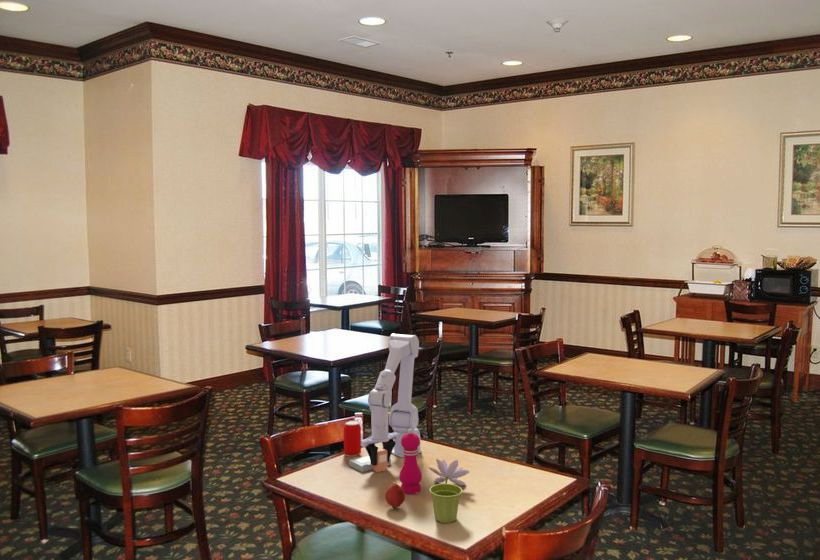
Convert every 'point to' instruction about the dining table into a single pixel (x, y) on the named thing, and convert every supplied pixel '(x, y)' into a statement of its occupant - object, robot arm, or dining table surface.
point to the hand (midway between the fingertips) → (380, 463)
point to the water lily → (449, 472)
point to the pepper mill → (410, 464)
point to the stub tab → (381, 460)
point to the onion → (395, 495)
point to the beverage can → (352, 438)
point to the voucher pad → (363, 463)
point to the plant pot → (445, 501)
